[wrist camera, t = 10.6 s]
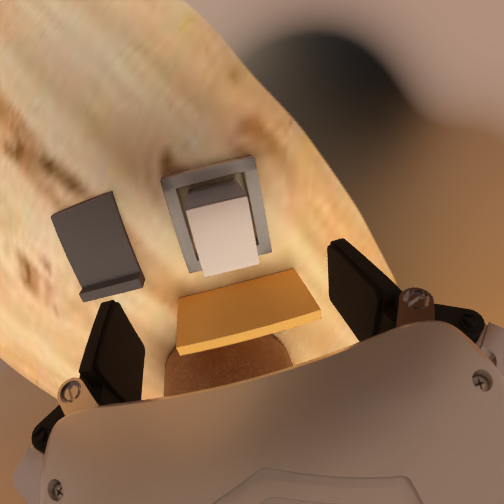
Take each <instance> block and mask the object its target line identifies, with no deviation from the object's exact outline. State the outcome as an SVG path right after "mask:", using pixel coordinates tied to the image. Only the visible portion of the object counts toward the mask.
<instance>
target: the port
mask: <svg viewBox="0 0 504 504" xmlns="http://www.w3.org/2000/svg"><path fill="white" fill-rule="evenodd" d="M239 172H243V177H244V182H245V187H246V192H247V197H248V201H249V206H250V211H251V216H252V221H253V226H254V231H255V236H256V239H255V241H256V246H257V252H258V256H259V255H262V254H266V253H270V252H272V249H271V244H270V238H269V232H268V227H267V221H266V216H265V210H264V205H263V200H262V194H261V189H260V184H259V178H258V173H257V168H256V163H255V158H254V156H252V155H249V156H244V157H240V158H235V159H231V160H226V161H222V162H218V163H214V164H210V165H206V166H202V167H198V168H194V169H190V170H187V171H183V172H179V173H176V174H172V175H169V176H166V177H162V179H161V180H160V181H161V185H162V188H163V192H164V195H165V199H166V202H167V205H168V209H169V212H170V215H171V219H172V222H173V225H174V228H175V231H176V234H177V238H178V241H179V244H180V247H181V250H182V253H183V256H184V259H185V262H186V265H187V267H188V270H189V273H193V272H197V271H200V270H202V267H201V263H200V260H199V256H198V254H197V252H196V249H195V246H194V243H193V239H192V236H191V233H190V229H189V226H188V223H187V219H186V216H185V212H184V209H183V205H182V202H181V198H180V195H179V191H178V188H180V187H184V186H187V185H191V184H195V183H198V182H202V181H206V180H210V179H214V178H218V177H222V176H226V175H231V174H235V173H239ZM318 319H321V309H320V308H319V306H318V304H317V303H316V301H315V300H314V298H313V297H312V295H311V293H310V292H309V290H308V289H307V287H306V286H305V284H304V283H303V281H302V280H301V278H300V276H299V275H298V273H297V272H296V270H295V269H294V268H293V269H290V270H286V271H282V272H279V273H275V274H271V275H268V276H264V277H260V278H256V279H253V280H249V281H245V282H241V283H237V284H234V285H230V286H226V287H222V288H218V289H214V290H210V291H206V292H202V293H198V294H194V295H190V296H186V297H182V298H179V300H178V315H177V335H176V349H177V350H178V352H179V354H180V356H181V355H186V354H191V353H196V352H200V351H205V350H209V349H214V348H218V347H222V346H226V345H231V344H235V343H239V342H243V341H246V340H250V339H254V338H258V337H262V336H265V335H269V334H272V333H276V332H279V331H283V330H286V329H290V328H293V327H296V326H299V325H303V324H306V323H309V322H312V321H315V320H318Z"/></svg>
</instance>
